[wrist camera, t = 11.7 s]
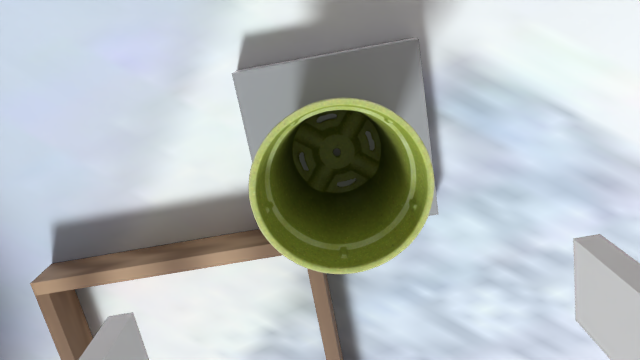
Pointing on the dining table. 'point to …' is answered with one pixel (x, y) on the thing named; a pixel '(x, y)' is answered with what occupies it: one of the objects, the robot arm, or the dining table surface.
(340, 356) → the frame
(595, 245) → the robot arm
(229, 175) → the dining table surface
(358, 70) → the stone coaster
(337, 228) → the plant pot
